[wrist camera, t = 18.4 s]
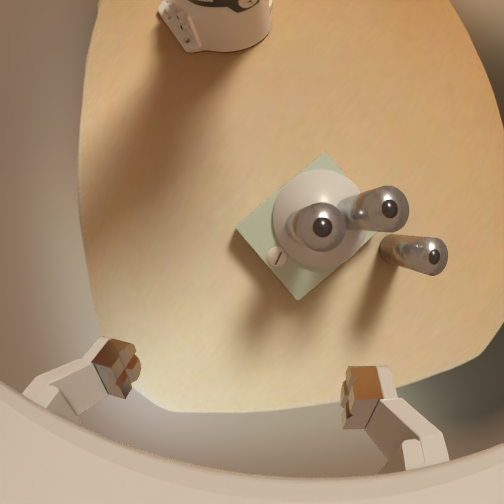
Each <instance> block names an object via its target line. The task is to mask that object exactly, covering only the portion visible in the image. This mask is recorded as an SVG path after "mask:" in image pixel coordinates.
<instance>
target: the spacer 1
mask: <svg viewBox="0 0 504 504" xmlns="http://www.w3.org/2000/svg"><path fill="white" fill-rule="evenodd" d="M285 228H286V233H287V235H288V237H289V238H290V239H291V240H292V241H294V242H296V243H298V244H300V245H303V246H305V247H307V248H309V249H312V250H314V251H317V252H327V251H331V250H333V249H335V248H336V247H337V246H338V245H339V244H340V243H341V242H342V240H343V239H344V236H345V233H346V222H345V219H344V216H343V214H342V213H341V211H340V210H339V209H338V208H337V207H335V206H334V205H332V204H329V203H325V202H319V203H315V204H312V205H309V206H307V207H304V208H302V209H299V210H297V211H295V212H293V213H291V214H290V215H289V217H288V218H287V220H286V225H285Z"/></svg>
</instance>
